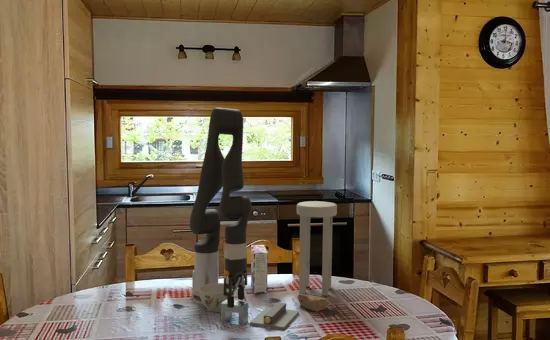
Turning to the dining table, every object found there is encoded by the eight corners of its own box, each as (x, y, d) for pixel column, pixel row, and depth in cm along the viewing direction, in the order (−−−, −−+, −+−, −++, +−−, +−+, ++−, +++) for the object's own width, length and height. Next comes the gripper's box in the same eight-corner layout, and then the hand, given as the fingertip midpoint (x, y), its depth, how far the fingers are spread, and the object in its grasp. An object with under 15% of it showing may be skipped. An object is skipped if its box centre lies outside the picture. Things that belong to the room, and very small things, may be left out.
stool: (292, 294, 210) (294, 205, 207) (299, 283, 225) (300, 200, 222) (332, 297, 207) (334, 207, 203) (336, 285, 222) (338, 201, 219)
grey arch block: (220, 322, 180) (220, 303, 180) (226, 317, 185) (226, 299, 184) (242, 325, 178) (242, 306, 177) (248, 320, 182) (248, 302, 181)
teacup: (234, 303, 199) (234, 282, 199) (234, 315, 187) (234, 292, 186) (193, 303, 198) (193, 282, 198) (190, 315, 186) (190, 293, 185)
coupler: (249, 324, 178) (249, 314, 178) (267, 309, 193) (267, 299, 193) (283, 330, 174) (284, 319, 174) (298, 313, 189) (299, 304, 189)
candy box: (250, 283, 224) (250, 244, 223) (264, 282, 225) (265, 244, 223) (252, 293, 211) (253, 252, 209) (267, 293, 211) (268, 252, 210)
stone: (312, 314, 189) (312, 300, 189) (295, 304, 199) (295, 291, 199) (332, 310, 193) (333, 296, 193) (315, 301, 203) (315, 288, 203)
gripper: (234, 250, 187) (234, 296, 188) (216, 259, 174) (216, 308, 175) (254, 252, 185) (254, 298, 186) (237, 261, 171) (237, 311, 172)
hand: (235, 303), depth 180 cm, fingers open, 8 cm apart
